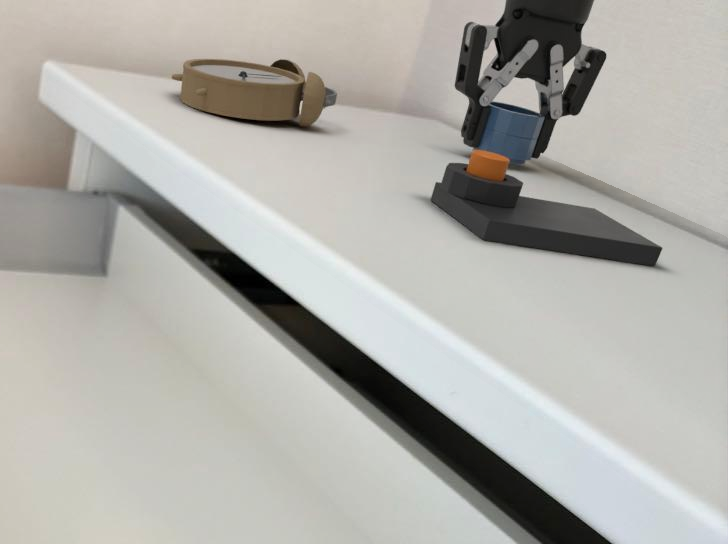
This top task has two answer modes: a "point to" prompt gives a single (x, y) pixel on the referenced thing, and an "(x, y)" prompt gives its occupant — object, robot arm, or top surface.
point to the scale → (536, 219)
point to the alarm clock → (254, 90)
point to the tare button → (488, 165)
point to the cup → (511, 132)
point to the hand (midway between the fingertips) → (500, 150)
